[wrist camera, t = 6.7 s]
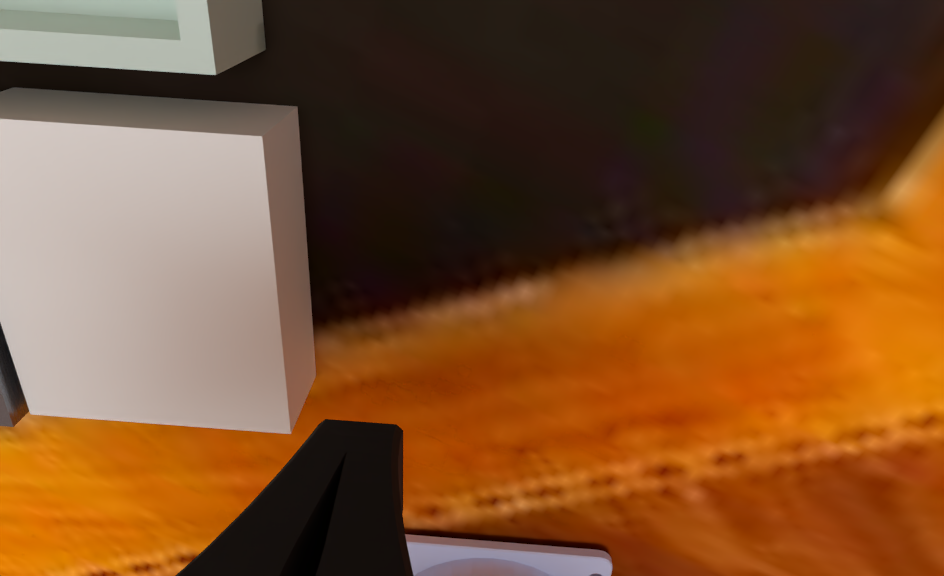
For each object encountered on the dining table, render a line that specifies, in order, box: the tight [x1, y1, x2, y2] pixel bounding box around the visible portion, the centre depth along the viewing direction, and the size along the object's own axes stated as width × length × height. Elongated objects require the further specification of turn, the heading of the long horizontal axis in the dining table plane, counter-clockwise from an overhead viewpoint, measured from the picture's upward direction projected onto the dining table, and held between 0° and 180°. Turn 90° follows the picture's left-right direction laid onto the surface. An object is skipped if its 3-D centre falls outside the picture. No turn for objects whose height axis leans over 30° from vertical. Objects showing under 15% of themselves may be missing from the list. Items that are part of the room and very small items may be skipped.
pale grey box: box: [0, 87, 316, 434], centre depth 17 cm, size 8×7×3 cm
